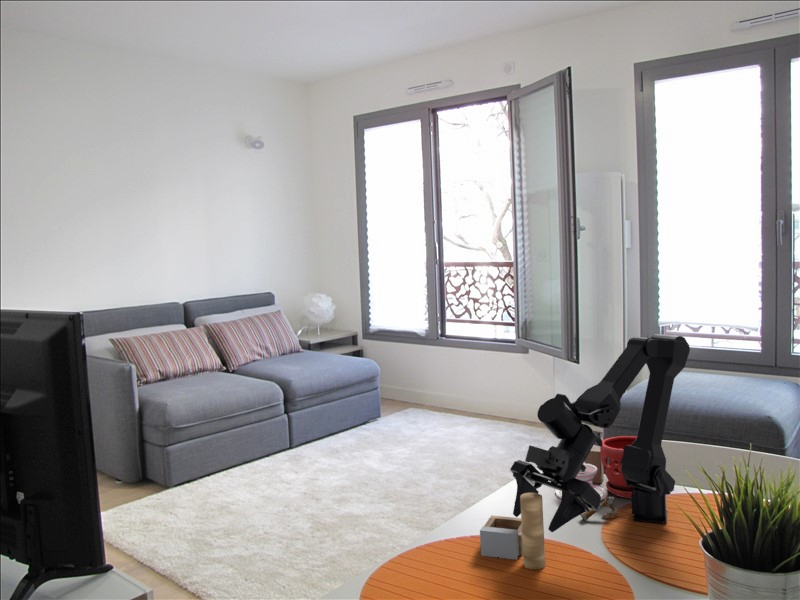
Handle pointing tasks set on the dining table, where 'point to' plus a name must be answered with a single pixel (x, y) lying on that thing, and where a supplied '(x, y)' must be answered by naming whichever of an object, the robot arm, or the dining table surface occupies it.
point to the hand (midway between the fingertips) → (532, 523)
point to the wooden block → (596, 463)
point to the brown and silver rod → (607, 502)
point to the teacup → (588, 479)
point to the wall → (499, 542)
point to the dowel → (532, 530)
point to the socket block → (507, 526)
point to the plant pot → (616, 464)
